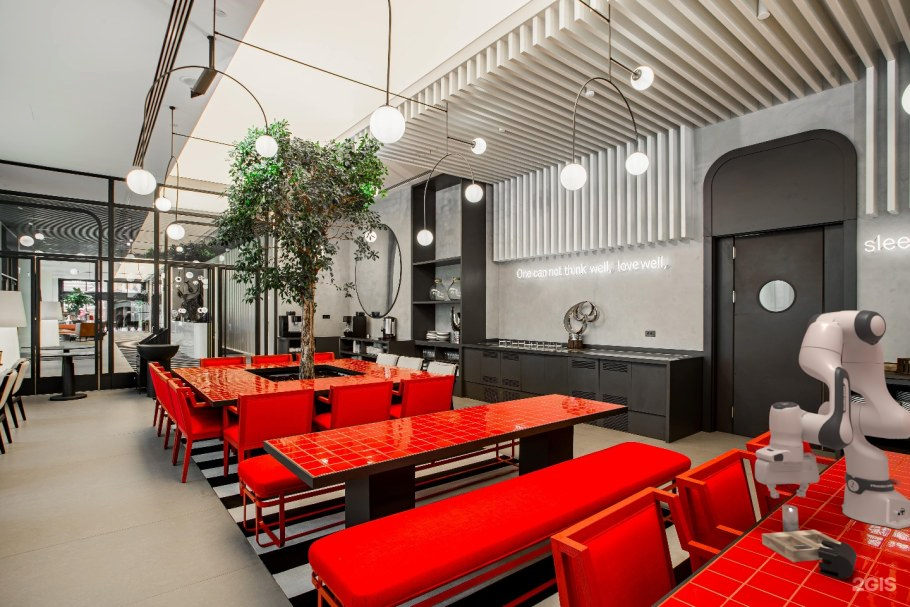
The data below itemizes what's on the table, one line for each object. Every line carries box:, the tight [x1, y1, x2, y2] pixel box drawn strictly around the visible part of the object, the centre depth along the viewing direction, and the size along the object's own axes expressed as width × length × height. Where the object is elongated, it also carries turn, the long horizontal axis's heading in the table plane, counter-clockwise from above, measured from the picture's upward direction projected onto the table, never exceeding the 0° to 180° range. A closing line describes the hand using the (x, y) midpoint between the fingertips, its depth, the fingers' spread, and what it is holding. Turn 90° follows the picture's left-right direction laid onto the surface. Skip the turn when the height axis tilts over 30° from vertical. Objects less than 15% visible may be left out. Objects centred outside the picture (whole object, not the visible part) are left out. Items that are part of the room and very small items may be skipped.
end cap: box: [818, 540, 858, 580], centre depth 125 cm, size 10×7×7 cm
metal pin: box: [781, 504, 800, 532], centre depth 149 cm, size 4×4×8 cm
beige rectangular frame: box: [761, 529, 841, 563], centre depth 137 cm, size 18×11×3 cm, turn 98°
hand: (788, 497), depth 149 cm, fingers open, 8 cm apart
